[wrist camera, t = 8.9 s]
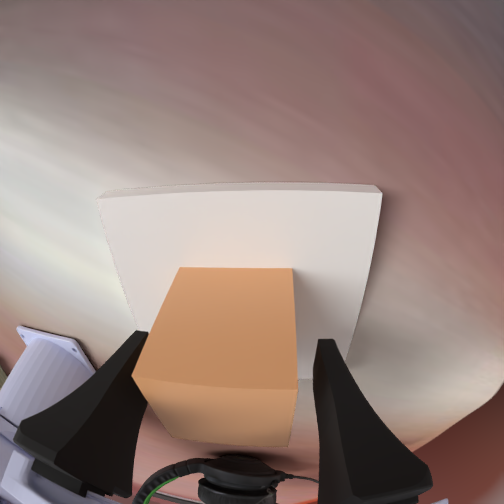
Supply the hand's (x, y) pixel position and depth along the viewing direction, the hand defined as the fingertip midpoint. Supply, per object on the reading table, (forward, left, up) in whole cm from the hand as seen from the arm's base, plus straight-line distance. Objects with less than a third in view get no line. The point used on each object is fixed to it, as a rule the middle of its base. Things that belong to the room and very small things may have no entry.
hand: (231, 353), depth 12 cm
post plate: (0, 0, -4) cm, 4 cm away
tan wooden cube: (0, 0, -3) cm, 3 cm away
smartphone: (-87, +23, -4) cm, 90 cm away
